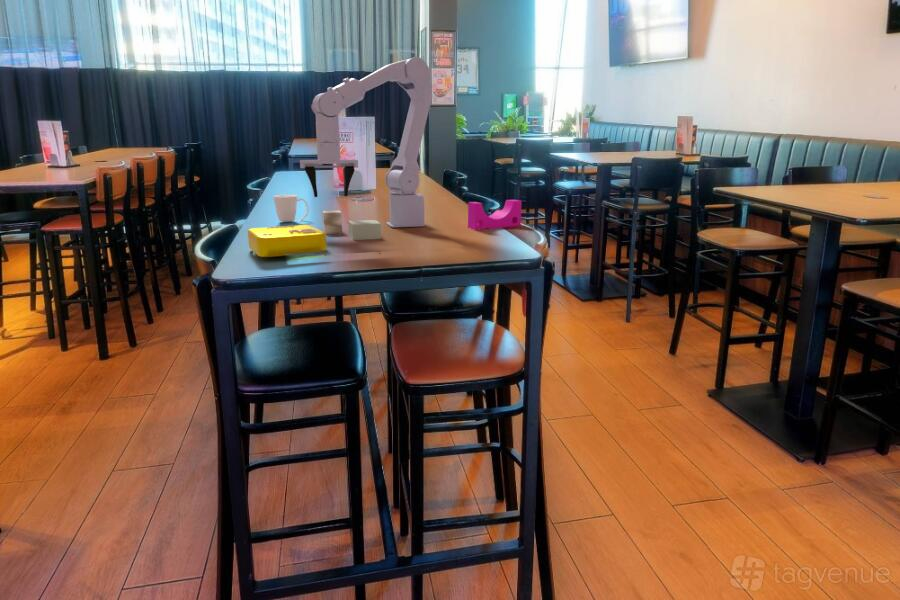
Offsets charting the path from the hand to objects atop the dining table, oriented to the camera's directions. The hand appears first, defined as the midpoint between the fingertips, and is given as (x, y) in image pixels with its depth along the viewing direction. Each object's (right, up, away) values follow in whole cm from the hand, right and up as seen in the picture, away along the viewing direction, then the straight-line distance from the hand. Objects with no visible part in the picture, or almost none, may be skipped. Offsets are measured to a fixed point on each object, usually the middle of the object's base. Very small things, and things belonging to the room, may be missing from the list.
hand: (330, 196), depth 159 cm
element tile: (-6, -16, -20) cm, 26 cm away
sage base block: (+10, -11, -5) cm, 16 cm away
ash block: (0, -9, +2) cm, 10 cm away
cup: (-15, -5, +18) cm, 24 cm away
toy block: (+43, -7, +12) cm, 45 cm away
